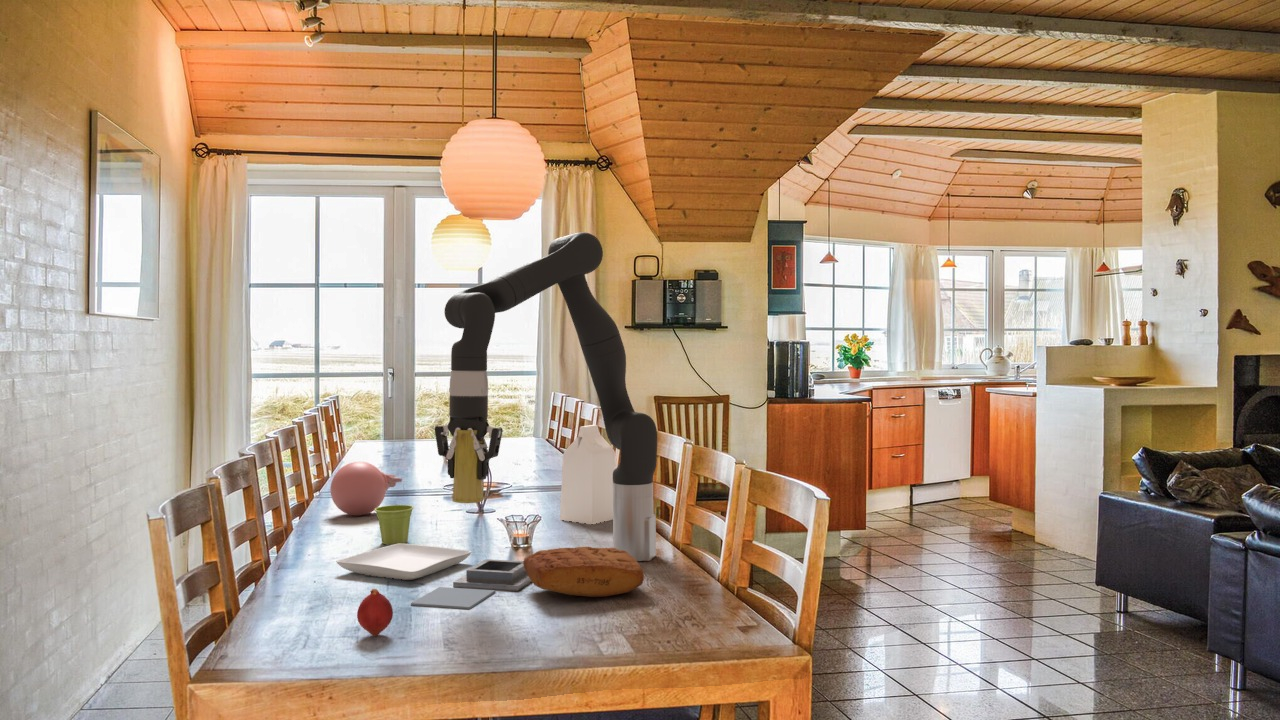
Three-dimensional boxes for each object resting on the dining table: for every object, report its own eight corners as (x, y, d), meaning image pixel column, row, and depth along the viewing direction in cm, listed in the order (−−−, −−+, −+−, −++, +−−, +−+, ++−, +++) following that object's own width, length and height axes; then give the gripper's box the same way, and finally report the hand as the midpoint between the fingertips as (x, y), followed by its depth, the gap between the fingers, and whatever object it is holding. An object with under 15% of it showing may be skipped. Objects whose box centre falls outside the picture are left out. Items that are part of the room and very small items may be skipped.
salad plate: (474, 564, 212) (474, 549, 212) (414, 587, 193) (413, 570, 193) (398, 556, 221) (398, 541, 221) (333, 577, 202) (333, 561, 202)
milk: (587, 513, 272) (586, 423, 271) (619, 517, 265) (618, 425, 265) (559, 520, 262) (558, 426, 262) (592, 524, 255) (591, 428, 255)
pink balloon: (405, 516, 269) (405, 462, 269) (331, 521, 262) (331, 466, 262) (400, 507, 284) (399, 456, 283) (329, 512, 277) (329, 460, 277)
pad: (495, 592, 187) (495, 590, 187) (469, 609, 175) (469, 607, 175) (439, 588, 190) (439, 586, 190) (410, 605, 178) (410, 603, 178)
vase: (476, 504, 184) (477, 430, 184) (447, 502, 186) (447, 429, 185) (488, 499, 190) (488, 428, 190) (459, 498, 192) (460, 427, 191)
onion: (361, 630, 163) (361, 584, 163) (395, 629, 163) (395, 583, 163) (354, 641, 157) (353, 593, 157) (389, 640, 157) (389, 592, 157)
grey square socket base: (542, 573, 201) (542, 560, 201) (518, 590, 188) (517, 575, 188) (481, 570, 205) (481, 556, 205) (453, 586, 191) (453, 572, 191)
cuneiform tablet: (534, 609, 175) (534, 566, 175) (521, 586, 192) (520, 546, 192) (649, 599, 181) (649, 557, 181) (626, 578, 198) (626, 539, 197)
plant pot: (367, 545, 232) (366, 509, 232) (390, 537, 240) (390, 503, 240) (398, 548, 228) (398, 512, 228) (421, 540, 237) (421, 505, 237)
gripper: (509, 393, 189) (509, 478, 190) (444, 392, 193) (443, 474, 193) (494, 395, 182) (493, 482, 182) (426, 393, 186) (426, 479, 186)
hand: (467, 478), depth 188 cm, fingers closed on vase, 5 cm apart
